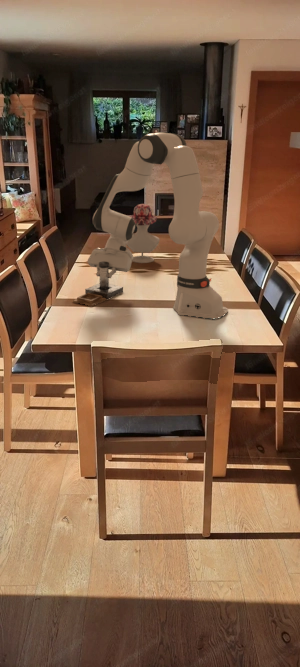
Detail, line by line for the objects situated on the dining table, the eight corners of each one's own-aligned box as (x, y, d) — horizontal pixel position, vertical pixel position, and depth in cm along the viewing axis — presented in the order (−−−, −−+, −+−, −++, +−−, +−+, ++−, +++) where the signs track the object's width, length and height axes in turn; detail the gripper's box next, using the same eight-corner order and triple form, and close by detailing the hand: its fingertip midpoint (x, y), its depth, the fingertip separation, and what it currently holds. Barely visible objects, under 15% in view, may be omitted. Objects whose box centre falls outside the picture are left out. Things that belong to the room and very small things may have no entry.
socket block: (123, 292, 226) (123, 286, 225) (107, 299, 217) (107, 294, 216) (101, 287, 232) (101, 282, 231) (85, 294, 223) (85, 289, 222)
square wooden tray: (106, 300, 216) (106, 295, 215) (92, 306, 208) (91, 302, 208) (87, 295, 221) (87, 291, 220) (73, 302, 213) (72, 297, 212)
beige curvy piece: (160, 255, 289) (162, 201, 277) (158, 263, 272) (159, 207, 260) (128, 254, 290) (128, 200, 278) (123, 262, 274) (123, 206, 262)
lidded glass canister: (111, 292, 225) (110, 262, 220) (105, 295, 222) (104, 264, 216) (103, 291, 227) (102, 260, 222) (97, 293, 224) (96, 263, 218)
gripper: (91, 243, 227) (80, 269, 222) (131, 248, 218) (120, 276, 214) (97, 251, 232) (86, 276, 228) (136, 256, 224) (125, 283, 220)
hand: (103, 276), depth 221 cm, fingers closed on lidded glass canister, 4 cm apart
